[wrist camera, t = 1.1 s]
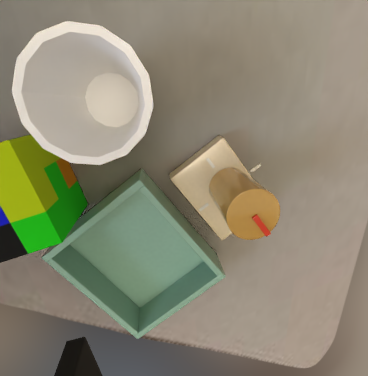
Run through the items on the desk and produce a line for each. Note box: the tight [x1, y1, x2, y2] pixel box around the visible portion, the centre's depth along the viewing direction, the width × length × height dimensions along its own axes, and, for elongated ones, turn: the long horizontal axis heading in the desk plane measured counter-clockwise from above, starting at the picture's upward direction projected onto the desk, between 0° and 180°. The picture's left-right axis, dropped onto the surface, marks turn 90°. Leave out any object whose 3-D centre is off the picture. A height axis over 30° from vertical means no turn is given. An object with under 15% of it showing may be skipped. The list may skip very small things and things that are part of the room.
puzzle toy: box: [0, 135, 88, 263], centre depth 28 cm, size 10×10×10 cm
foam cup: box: [12, 21, 154, 165], centre depth 24 cm, size 10×9×13 cm
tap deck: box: [169, 135, 261, 240], centre depth 34 cm, size 11×10×3 cm
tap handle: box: [209, 167, 280, 240], centre depth 29 cm, size 5×5×9 cm
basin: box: [42, 169, 225, 339], centre depth 34 cm, size 17×15×5 cm
